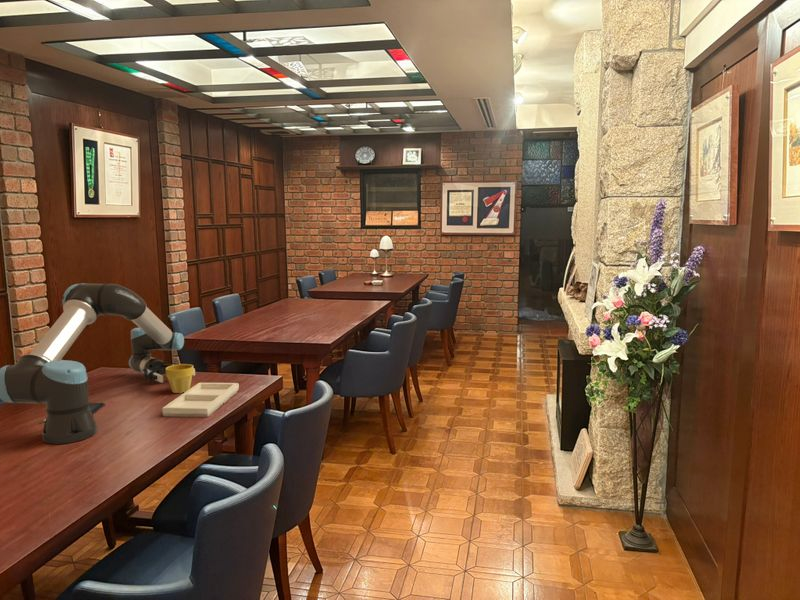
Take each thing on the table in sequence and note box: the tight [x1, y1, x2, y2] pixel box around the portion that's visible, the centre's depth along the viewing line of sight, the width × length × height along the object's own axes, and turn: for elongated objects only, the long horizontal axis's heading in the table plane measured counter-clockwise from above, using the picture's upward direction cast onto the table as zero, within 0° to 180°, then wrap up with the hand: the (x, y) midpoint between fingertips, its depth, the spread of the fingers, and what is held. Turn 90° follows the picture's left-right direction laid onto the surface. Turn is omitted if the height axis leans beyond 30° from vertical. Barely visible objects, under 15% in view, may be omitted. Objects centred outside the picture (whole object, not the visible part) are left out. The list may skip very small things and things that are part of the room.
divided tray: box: [161, 382, 240, 418], centre depth 212 cm, size 31×16×3 cm, turn 176°
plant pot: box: [165, 363, 195, 394], centre depth 226 cm, size 10×10×10 cm
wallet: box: [38, 402, 106, 425], centre depth 201 cm, size 20×2×15 cm
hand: (178, 375), depth 228 cm, fingers open, 13 cm apart
